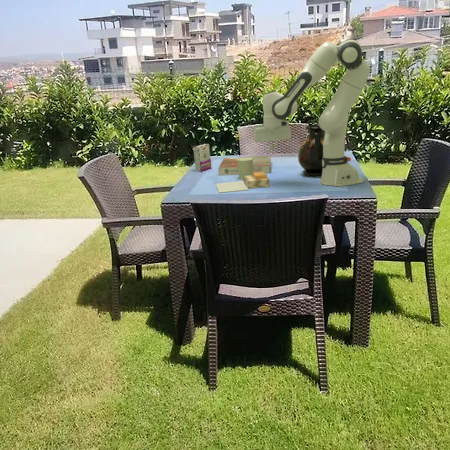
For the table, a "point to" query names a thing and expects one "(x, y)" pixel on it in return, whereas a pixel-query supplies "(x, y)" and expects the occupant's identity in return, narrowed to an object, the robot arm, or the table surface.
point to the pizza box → (231, 165)
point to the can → (245, 167)
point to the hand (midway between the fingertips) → (272, 148)
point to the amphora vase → (312, 152)
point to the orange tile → (259, 175)
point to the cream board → (231, 186)
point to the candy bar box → (202, 157)
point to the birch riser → (256, 182)
